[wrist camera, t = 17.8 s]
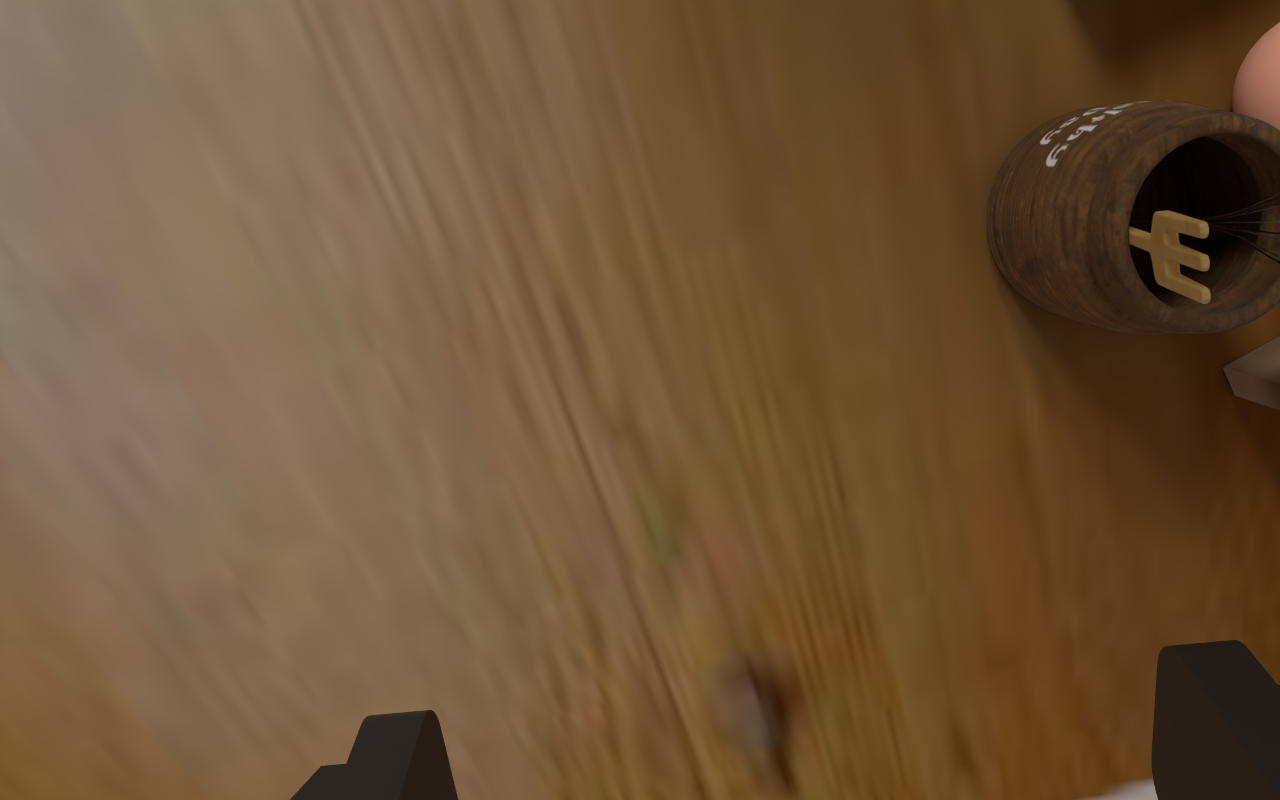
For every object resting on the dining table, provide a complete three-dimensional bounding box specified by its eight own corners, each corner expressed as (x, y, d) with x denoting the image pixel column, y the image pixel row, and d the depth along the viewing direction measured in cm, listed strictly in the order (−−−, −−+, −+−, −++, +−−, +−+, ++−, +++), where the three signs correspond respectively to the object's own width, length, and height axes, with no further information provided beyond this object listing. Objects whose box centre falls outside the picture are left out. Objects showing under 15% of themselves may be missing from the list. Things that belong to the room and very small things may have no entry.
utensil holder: (1181, 299, 33) (1523, 371, 22) (974, 329, 33) (1207, 419, 21) (1175, 95, 32) (1534, 53, 20) (960, 124, 32) (1198, 99, 20)
